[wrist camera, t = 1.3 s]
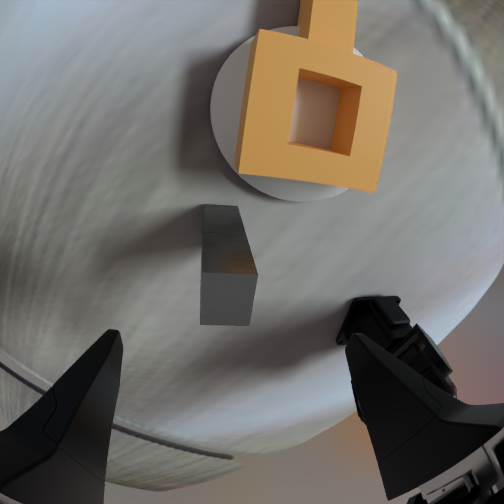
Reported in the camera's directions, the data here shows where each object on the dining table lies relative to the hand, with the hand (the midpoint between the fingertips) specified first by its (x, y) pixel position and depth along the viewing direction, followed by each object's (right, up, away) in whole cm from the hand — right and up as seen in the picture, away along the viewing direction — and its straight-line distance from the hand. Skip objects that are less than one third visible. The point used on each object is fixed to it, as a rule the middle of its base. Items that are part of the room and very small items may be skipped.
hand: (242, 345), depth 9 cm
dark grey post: (-2, +5, +11) cm, 12 cm away
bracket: (+4, +16, +6) cm, 17 cm away
